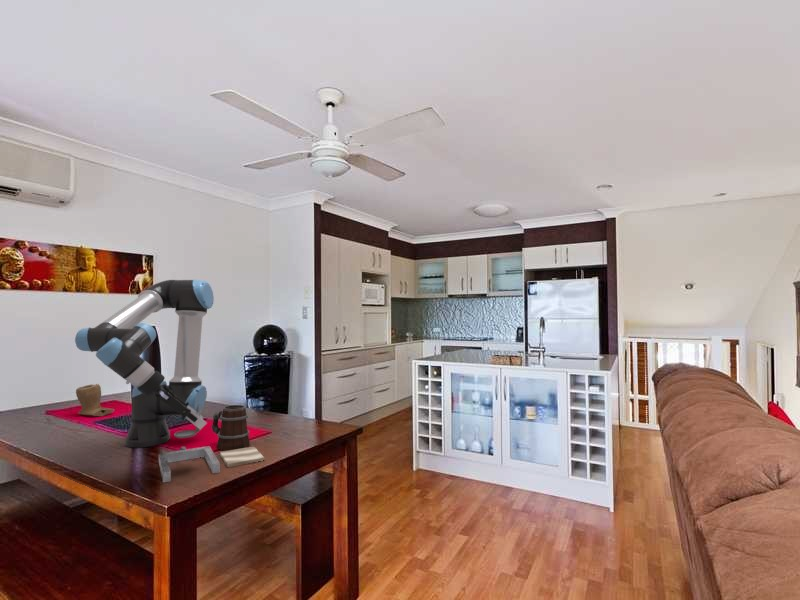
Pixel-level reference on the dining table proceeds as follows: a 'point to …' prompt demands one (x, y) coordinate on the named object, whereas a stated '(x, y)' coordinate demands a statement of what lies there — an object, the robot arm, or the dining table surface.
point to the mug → (231, 428)
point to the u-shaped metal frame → (186, 455)
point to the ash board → (241, 456)
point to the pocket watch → (188, 432)
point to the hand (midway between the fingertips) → (201, 423)
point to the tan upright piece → (91, 401)
